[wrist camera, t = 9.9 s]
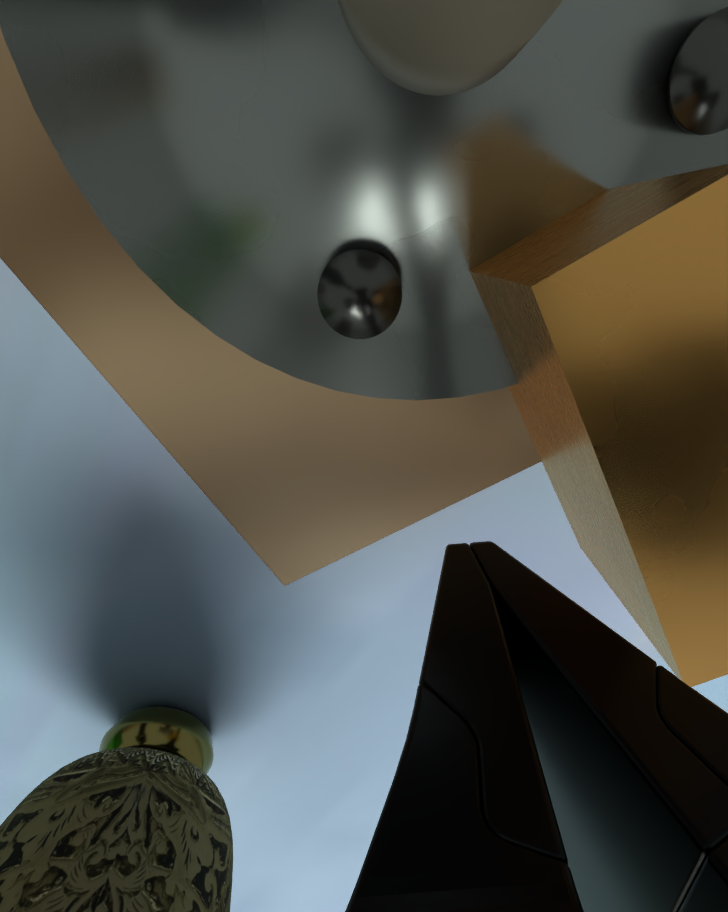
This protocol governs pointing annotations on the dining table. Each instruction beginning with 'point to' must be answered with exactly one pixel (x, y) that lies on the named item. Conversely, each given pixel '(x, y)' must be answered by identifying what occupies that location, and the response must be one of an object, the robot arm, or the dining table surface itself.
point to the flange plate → (444, 238)
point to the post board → (250, 381)
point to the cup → (124, 827)
